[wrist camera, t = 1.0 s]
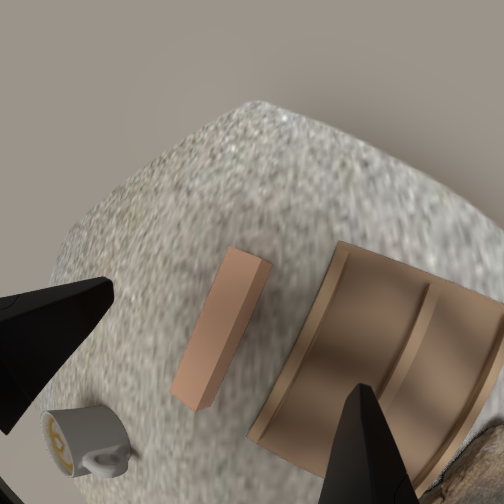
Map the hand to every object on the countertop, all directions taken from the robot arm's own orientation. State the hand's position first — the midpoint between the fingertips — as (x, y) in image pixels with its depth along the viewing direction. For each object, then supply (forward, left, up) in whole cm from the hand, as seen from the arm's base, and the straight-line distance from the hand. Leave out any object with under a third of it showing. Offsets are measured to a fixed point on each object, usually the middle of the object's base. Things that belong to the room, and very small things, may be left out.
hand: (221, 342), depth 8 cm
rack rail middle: (-2, -7, -15) cm, 17 cm away
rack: (-2, -7, -16) cm, 18 cm away
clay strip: (-4, +9, -17) cm, 19 cm away
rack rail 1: (-2, +1, -16) cm, 17 cm away
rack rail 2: (-2, -15, -16) cm, 23 cm away
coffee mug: (-29, +18, -17) cm, 38 cm away
